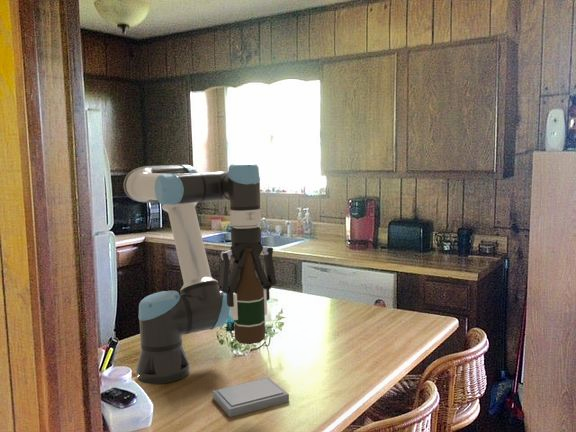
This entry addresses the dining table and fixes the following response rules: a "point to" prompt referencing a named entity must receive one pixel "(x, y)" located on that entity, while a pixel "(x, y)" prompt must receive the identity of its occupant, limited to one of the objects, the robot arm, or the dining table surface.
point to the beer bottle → (249, 304)
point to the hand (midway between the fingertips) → (249, 315)
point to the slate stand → (250, 396)
